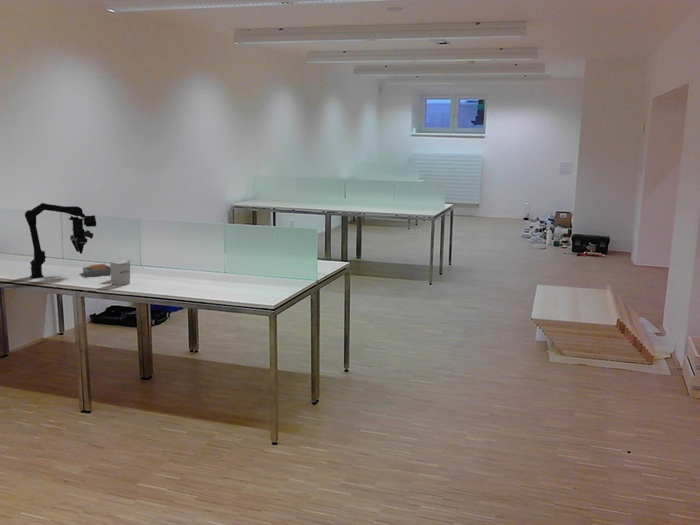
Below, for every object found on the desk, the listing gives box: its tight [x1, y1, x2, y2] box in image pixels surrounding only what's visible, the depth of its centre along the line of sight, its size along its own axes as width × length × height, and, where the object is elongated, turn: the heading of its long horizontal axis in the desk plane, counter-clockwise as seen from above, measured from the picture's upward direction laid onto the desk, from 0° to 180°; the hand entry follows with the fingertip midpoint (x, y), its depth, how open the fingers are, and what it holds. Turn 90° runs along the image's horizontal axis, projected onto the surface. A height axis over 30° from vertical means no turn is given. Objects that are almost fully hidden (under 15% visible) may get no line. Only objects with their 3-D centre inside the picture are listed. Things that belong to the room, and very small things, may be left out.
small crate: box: [88, 263, 107, 271], centre depth 384 cm, size 6×9×4 cm, turn 124°
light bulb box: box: [109, 259, 131, 272], centre depth 368 cm, size 11×7×11 cm, turn 168°
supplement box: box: [109, 261, 131, 286], centre depth 353 cm, size 7×7×13 cm
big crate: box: [82, 264, 111, 278], centre depth 384 cm, size 15×15×4 cm
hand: (79, 252), depth 382 cm, fingers open, 9 cm apart
